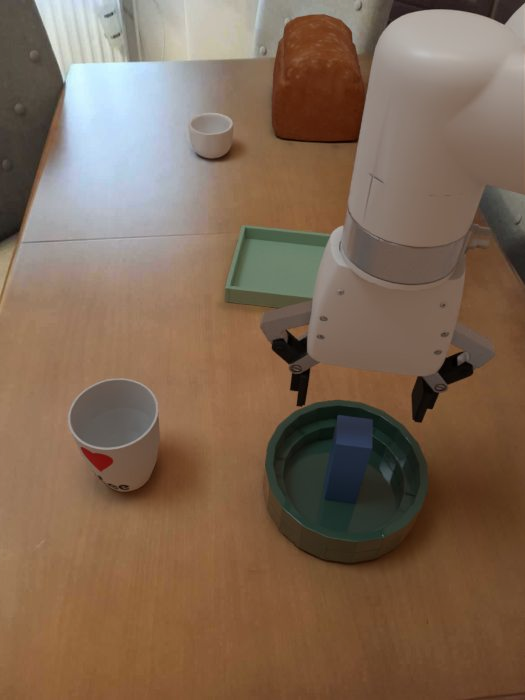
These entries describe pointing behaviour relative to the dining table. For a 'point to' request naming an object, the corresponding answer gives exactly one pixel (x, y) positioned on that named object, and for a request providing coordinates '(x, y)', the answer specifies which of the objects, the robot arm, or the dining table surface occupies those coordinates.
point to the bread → (317, 81)
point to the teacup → (211, 134)
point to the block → (348, 458)
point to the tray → (274, 266)
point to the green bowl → (375, 493)
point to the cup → (117, 431)
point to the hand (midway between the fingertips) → (358, 401)
